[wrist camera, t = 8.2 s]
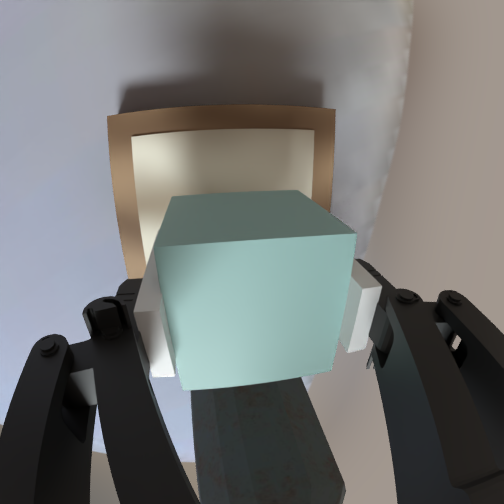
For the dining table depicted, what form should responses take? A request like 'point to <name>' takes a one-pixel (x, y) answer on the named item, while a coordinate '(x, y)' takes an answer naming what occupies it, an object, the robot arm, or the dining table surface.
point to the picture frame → (212, 161)
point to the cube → (252, 286)
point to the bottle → (262, 446)
